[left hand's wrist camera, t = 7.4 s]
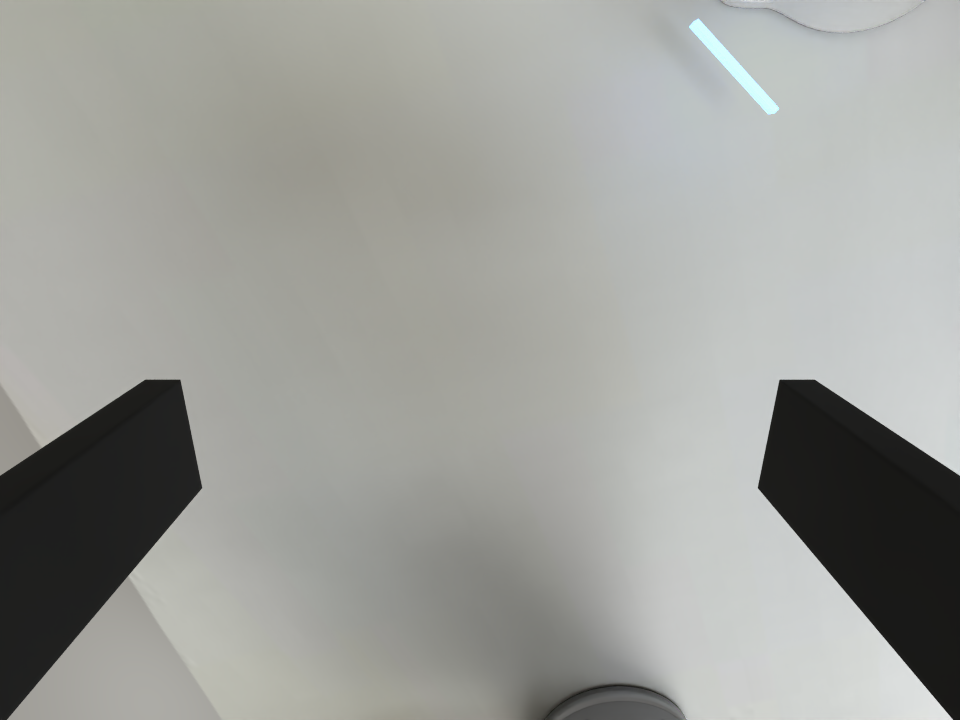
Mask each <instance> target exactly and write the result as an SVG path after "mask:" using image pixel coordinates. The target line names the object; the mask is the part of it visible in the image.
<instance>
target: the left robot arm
mask: <svg viewBox="0 0 960 720" xmlns="http://www.w3.org/2000/svg"><path fill="white" fill-rule="evenodd" d="M201 489H202V485H201V480H200V475H199V470H198V465H197V460H196V455H195V450H194V445H193V440H192V435H191V430H190V425H189V420H188V415H187V410H186V405H185V400H184V395H183V390H182V386H181V381H180V380H144V381H143V382H141V383H140V384H138V385H137V386H135V387H134V388H132V389H131V390H129V391H128V392H126V393H125V394H123V395H122V396H120V397H119V398H117V399H116V400H114V401H113V402H111V403H110V404H108V405H106V406H105V407H103V408H102V409H100V410H99V411H97V412H96V413H94V414H93V415H91V416H90V417H88V418H87V419H85V420H84V421H82V422H81V423H79V424H78V425H76V426H75V427H73V428H72V429H70V430H69V431H67V432H66V433H64V434H63V435H61V436H60V437H58V438H57V439H55V440H54V441H52V442H51V443H49V444H48V445H46V446H45V447H43V448H42V449H40V450H39V451H37V452H35V453H34V454H33V455H31V456H29V457H28V458H26V459H25V460H23V461H22V462H20V463H19V464H17V465H16V466H14V467H13V468H11V469H10V470H8V471H7V472H5V473H4V474H2V475H1V476H0V720H7V719H8V718H9V716H10V715H11V714H12V713H13V712H14V711H15V709H16V708H17V707H18V706H19V705H20V703H21V702H22V701H23V700H24V699H25V697H26V696H27V695H28V694H29V693H30V691H31V690H32V689H33V688H34V687H35V686H36V684H37V683H38V682H39V681H40V680H41V679H42V677H43V676H44V675H45V674H46V673H47V671H48V670H49V669H50V668H51V667H52V665H53V664H54V663H55V662H56V661H57V660H58V658H59V657H60V656H61V655H62V654H63V652H64V651H65V650H66V649H67V648H68V647H69V645H70V644H71V643H72V642H73V640H74V639H75V638H76V637H77V636H78V635H79V633H80V632H81V631H82V630H83V629H84V628H85V626H86V625H87V624H88V623H89V622H90V620H91V619H92V618H93V617H94V616H95V614H96V613H97V612H98V611H99V610H100V609H101V607H102V606H103V605H104V604H105V603H106V601H107V600H108V599H109V598H110V597H111V595H112V594H113V593H114V592H115V591H116V590H117V588H118V587H119V586H120V585H121V584H122V582H123V581H124V580H125V579H126V578H127V577H128V575H129V574H130V573H131V572H132V571H133V569H134V568H135V567H136V566H137V565H138V563H139V562H140V561H141V560H142V559H143V558H144V556H145V555H146V554H147V553H148V552H149V550H150V549H151V548H152V547H153V546H154V544H155V543H156V542H157V541H158V540H159V539H160V537H161V536H162V535H163V534H164V533H165V531H166V530H167V529H168V528H169V527H170V525H171V524H172V523H173V522H174V521H175V520H176V518H177V517H178V516H179V515H180V514H181V512H182V511H183V510H184V509H185V508H186V507H187V505H188V504H189V503H190V502H191V501H192V499H193V498H194V497H195V496H196V495H197V493H198V492H199V491H200V490H201ZM758 489H759V490H760V491H761V492H762V493H763V495H764V496H765V497H766V498H767V499H768V501H769V502H770V503H771V504H772V505H773V507H774V508H775V509H776V510H777V511H778V512H779V514H780V515H781V516H782V517H783V518H784V520H785V521H786V522H787V523H788V524H789V525H790V527H791V528H792V529H793V530H794V531H795V533H796V534H797V535H798V536H799V537H800V539H801V540H802V541H803V542H804V543H805V544H806V546H807V547H808V548H809V549H810V550H811V552H812V553H813V554H814V555H815V556H816V558H817V559H818V560H819V561H820V562H821V563H822V565H823V566H824V567H825V568H826V569H827V571H828V572H829V573H830V574H831V575H832V577H833V578H834V579H835V580H836V581H837V582H838V584H839V585H840V586H841V587H842V588H843V590H844V591H845V592H846V593H847V594H848V595H849V597H850V598H851V599H852V600H853V601H854V603H855V604H856V605H857V606H858V607H859V609H860V610H861V611H862V612H863V613H864V614H865V616H866V617H867V618H868V619H869V620H870V622H871V623H872V624H873V625H874V626H875V628H876V629H877V630H878V631H879V632H880V633H881V635H882V636H883V637H884V638H885V639H886V641H887V642H888V643H889V644H890V645H891V647H892V648H893V649H894V650H895V651H896V652H897V654H898V655H899V656H900V657H901V658H902V660H903V661H904V662H905V663H906V664H907V665H908V667H909V668H910V669H911V670H912V671H913V673H914V674H915V675H916V676H917V677H918V679H919V680H920V681H921V682H922V683H923V684H924V686H925V687H926V688H927V689H928V690H929V692H930V693H931V694H932V695H933V696H934V698H935V699H936V700H937V701H938V702H939V703H940V705H941V706H942V707H943V708H944V709H945V711H946V712H947V713H948V714H949V715H950V716H951V718H952V719H953V720H960V476H959V475H958V474H956V473H955V472H953V471H952V470H950V469H949V468H947V467H946V466H944V465H943V464H941V463H940V462H938V461H937V460H935V459H934V458H932V457H931V456H929V455H928V454H926V453H925V452H923V451H922V450H920V449H918V448H917V447H915V446H914V445H912V444H911V443H909V442H908V441H906V440H905V439H903V438H902V437H900V436H899V435H897V434H896V433H894V432H893V431H891V430H890V429H888V428H887V427H885V426H884V425H882V424H881V423H879V422H878V421H876V420H875V419H873V418H872V417H870V416H869V415H867V414H866V413H864V412H863V411H861V410H860V409H858V408H857V407H855V406H854V405H852V404H850V403H849V402H847V401H846V400H844V399H843V398H841V397H840V396H838V395H837V394H835V393H834V392H832V391H831V390H829V389H828V388H826V387H825V386H823V385H822V384H820V383H819V382H817V381H816V380H780V381H779V386H778V390H777V395H776V400H775V405H774V410H773V415H772V420H771V425H770V430H769V435H768V440H767V445H766V450H765V455H764V460H763V465H762V470H761V475H760V480H759V485H758ZM545 720H686V719H685V717H684V715H683V714H682V712H681V711H680V710H679V708H678V707H677V706H676V705H674V704H673V703H672V702H671V701H669V700H668V699H666V698H665V697H663V696H661V695H659V694H657V693H654V692H651V691H648V690H645V689H641V688H635V687H625V686H614V687H603V688H598V689H593V690H590V691H586V692H583V693H581V694H578V695H576V696H574V697H572V698H570V699H568V700H566V701H565V702H563V703H562V704H560V705H559V706H558V707H556V708H555V709H554V710H553V711H552V712H551V713H550V714H549V715H548V716H547V718H546V719H545Z"/></svg>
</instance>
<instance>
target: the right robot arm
mask: <svg viewBox="0 0 960 720" xmlns="http://www.w3.org/2000/svg"><path fill="white" fill-rule="evenodd" d="M721 1H722V2H723V3H724V4H726V5H729V6H732V7H739V8H769V9H772V10H775V11H777V12H779V13H781V14H783V15H785V16H787V17H788V18H790V19H792V20H794V21H796V22H797V23H800V24H802V25H804V26H806V27H809V28H812V29H816V30H820V31H825V32H833V33H850V32H858V31H864V30H868V29H872V28H875V27H878V26H881V25H884V24H886V23H889V22H891V21H893V20H895V19H897V18H899V17H901V16H903V15H905V14H906V13H908V12H910V11H911V10H913V9H914V8H916V7H917V6H919V5H920V4H921V3H923V2H924V1H925V0H721ZM689 27H690V29H691V30H692V31H693V32H694V33H695V34H696V35H697V36H698V37H699V38H700V40H701V41H702V42H703V43H704V44H705V45H706V46H707V47H708V48H709V49H710V51H711V52H712V53H713V54H714V55H715V56H716V57H717V58H718V59H719V60H720V62H721V63H722V64H723V65H724V66H725V67H726V68H727V69H728V70H729V71H730V73H731V74H732V75H733V76H734V77H735V78H736V79H737V80H738V81H739V82H740V84H741V85H742V86H743V87H744V88H745V89H746V90H747V91H748V92H749V93H750V95H751V96H752V97H753V98H754V99H755V100H756V101H757V102H758V103H759V104H760V106H761V107H762V108H763V109H764V110H765V111H766V112H767V113H768V114H772V113H775V112H776V111H777V110H778V109H779V108H778V107H777V106H776V104H775V103H774V102H773V101H772V100H771V99H770V98H769V97H768V96H767V94H766V93H765V92H764V91H763V90H762V89H761V88H760V87H759V86H758V84H757V83H756V82H755V81H754V80H753V79H752V78H751V77H750V76H749V74H748V73H747V72H746V71H745V70H744V69H743V68H742V67H741V66H740V64H739V63H738V62H737V61H736V60H735V59H734V58H733V57H732V56H731V54H730V53H729V52H728V51H727V50H726V49H725V48H724V47H723V46H722V44H721V43H720V42H719V41H718V40H717V39H716V38H715V37H714V36H713V34H712V33H711V32H710V31H709V30H708V29H707V28H706V27H705V26H704V24H703V23H702V22H701V21H700V20H699V19H697V20H696V21H694V22H693V23H692V24H691V25H690V26H689Z"/></svg>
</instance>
